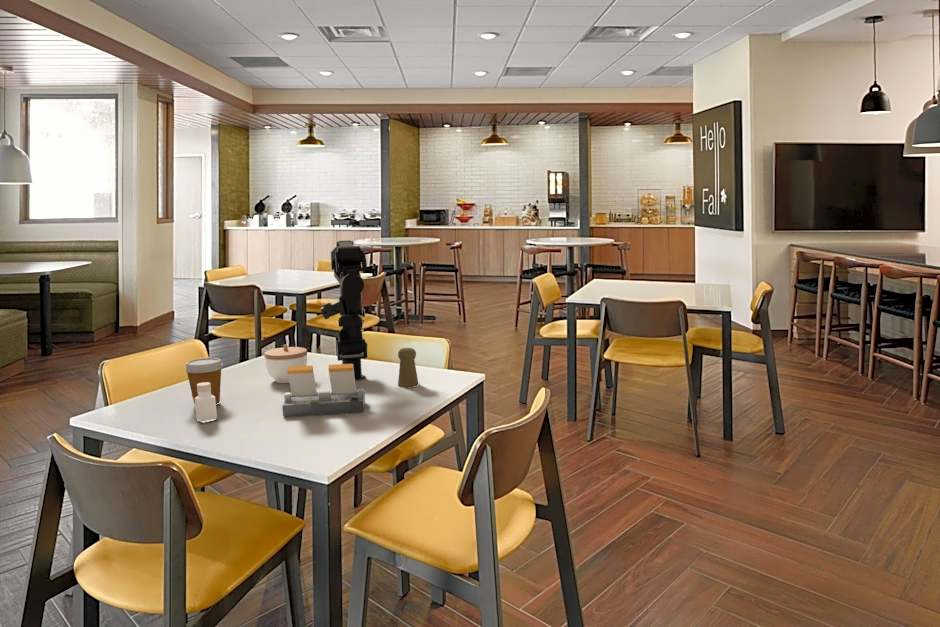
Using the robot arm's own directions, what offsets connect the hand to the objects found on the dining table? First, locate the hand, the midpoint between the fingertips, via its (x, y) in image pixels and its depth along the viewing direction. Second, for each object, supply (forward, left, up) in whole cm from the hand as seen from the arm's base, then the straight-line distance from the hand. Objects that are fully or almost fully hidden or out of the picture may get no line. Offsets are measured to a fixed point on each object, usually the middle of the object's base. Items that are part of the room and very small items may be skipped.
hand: (353, 346), depth 188 cm
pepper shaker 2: (+3, -41, -13) cm, 43 cm away
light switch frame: (+12, -13, -13) cm, 22 cm away
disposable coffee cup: (-12, -38, -13) cm, 42 cm away
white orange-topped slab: (+10, -18, -9) cm, 22 cm away
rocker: (+14, -9, -9) cm, 19 cm away
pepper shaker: (+3, +15, -13) cm, 20 cm away
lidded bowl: (-25, -12, -13) cm, 31 cm away
